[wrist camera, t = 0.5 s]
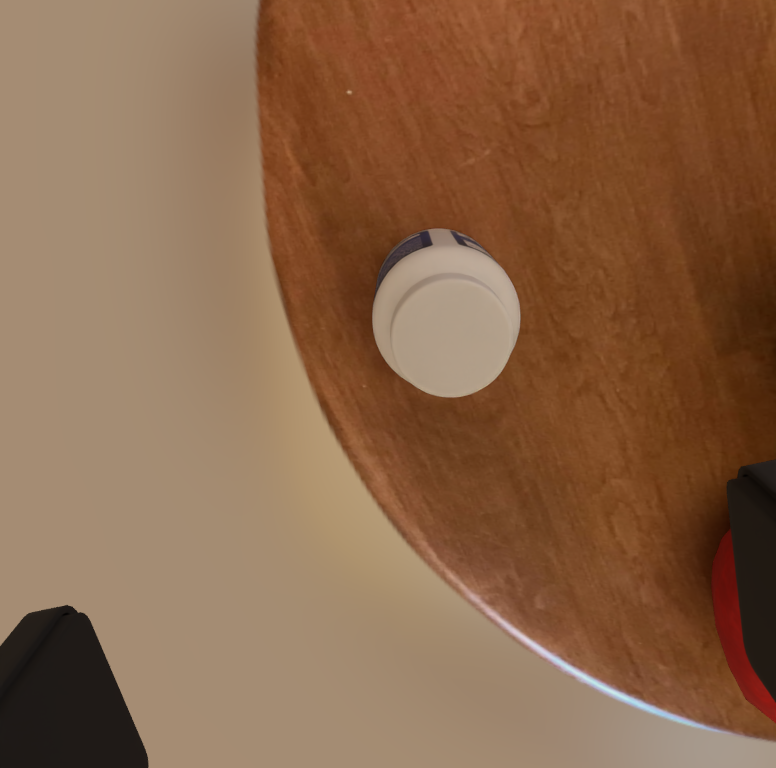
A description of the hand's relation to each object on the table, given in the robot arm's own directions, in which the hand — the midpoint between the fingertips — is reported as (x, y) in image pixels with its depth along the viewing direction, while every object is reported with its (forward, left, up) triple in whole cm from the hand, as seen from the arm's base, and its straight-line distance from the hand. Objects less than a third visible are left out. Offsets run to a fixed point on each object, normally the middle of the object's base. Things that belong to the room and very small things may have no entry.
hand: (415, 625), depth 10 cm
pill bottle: (0, +2, -24) cm, 24 cm away
